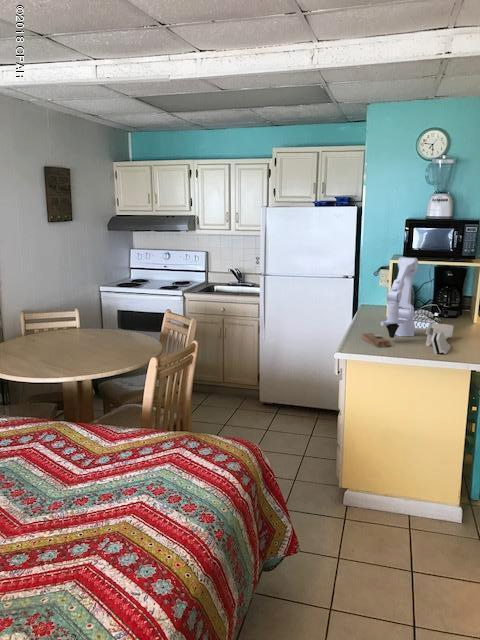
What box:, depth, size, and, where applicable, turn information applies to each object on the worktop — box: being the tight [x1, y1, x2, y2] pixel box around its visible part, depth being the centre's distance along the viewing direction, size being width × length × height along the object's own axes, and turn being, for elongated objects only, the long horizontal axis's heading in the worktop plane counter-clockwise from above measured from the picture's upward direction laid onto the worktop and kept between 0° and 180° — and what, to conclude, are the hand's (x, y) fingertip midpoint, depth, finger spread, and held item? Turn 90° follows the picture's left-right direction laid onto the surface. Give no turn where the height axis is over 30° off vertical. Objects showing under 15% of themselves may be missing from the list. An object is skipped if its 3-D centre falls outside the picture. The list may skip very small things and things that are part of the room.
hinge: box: [431, 333, 452, 355], centre depth 270 cm, size 17×5×10 cm, turn 150°
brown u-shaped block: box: [361, 332, 391, 348], centre depth 285 cm, size 7×18×3 cm, turn 14°
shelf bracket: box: [425, 322, 454, 347], centre depth 287 cm, size 6×25×13 cm, turn 134°
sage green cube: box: [373, 333, 384, 339], centre depth 286 cm, size 4×4×4 cm
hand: (391, 337), depth 287 cm, fingers closed
